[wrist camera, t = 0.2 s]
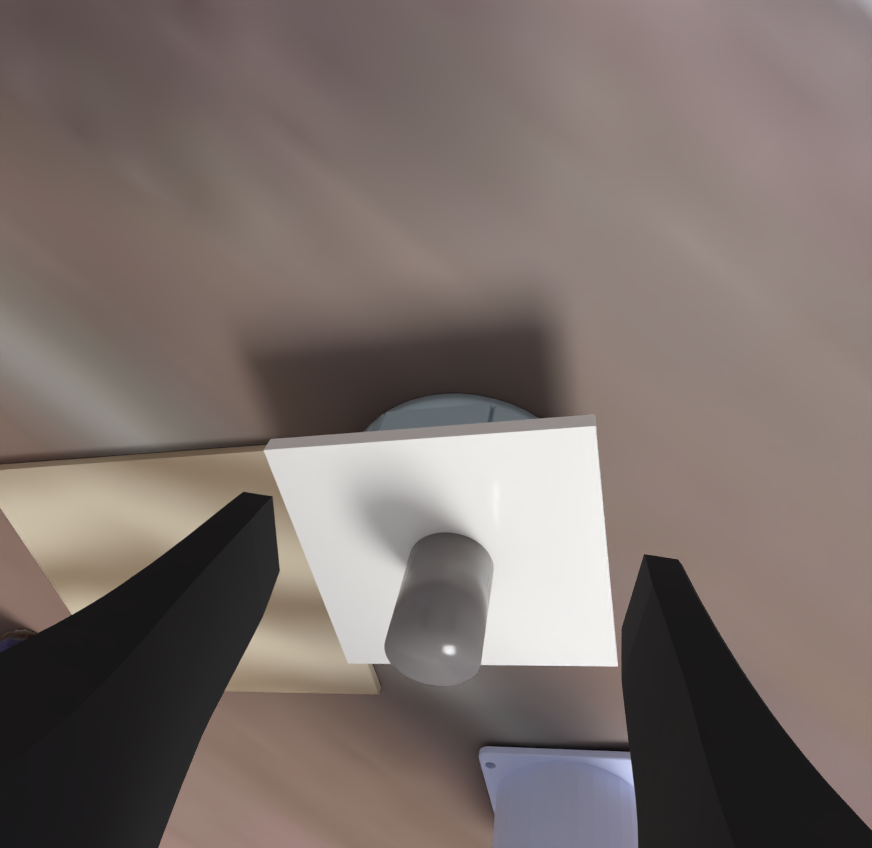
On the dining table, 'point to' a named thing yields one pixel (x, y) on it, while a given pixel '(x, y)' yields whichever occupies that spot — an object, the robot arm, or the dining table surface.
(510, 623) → the cover
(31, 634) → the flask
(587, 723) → the dining table surface
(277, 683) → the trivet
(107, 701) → the robot arm
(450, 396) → the bowl
